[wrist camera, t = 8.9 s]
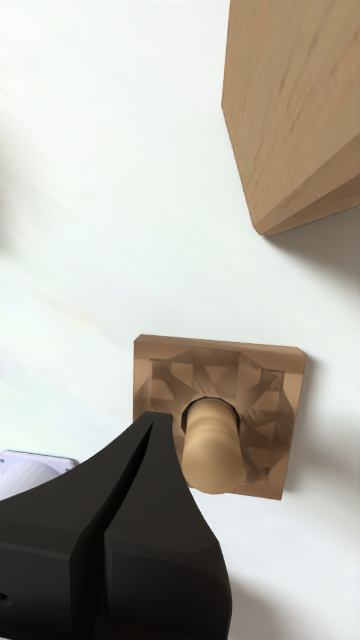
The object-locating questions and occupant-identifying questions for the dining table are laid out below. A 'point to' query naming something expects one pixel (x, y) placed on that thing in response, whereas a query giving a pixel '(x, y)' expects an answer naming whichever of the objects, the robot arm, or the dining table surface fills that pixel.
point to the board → (226, 397)
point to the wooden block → (294, 108)
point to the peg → (212, 447)
